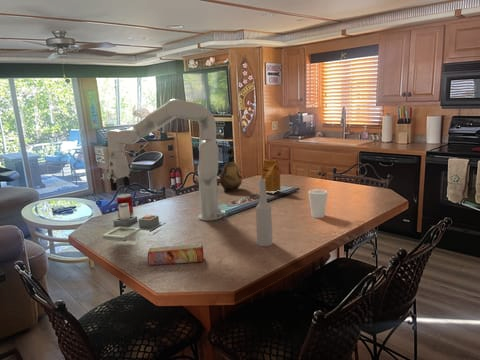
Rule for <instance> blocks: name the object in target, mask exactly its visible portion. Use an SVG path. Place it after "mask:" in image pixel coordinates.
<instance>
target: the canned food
mask: <svg viewBox="0 0 480 360" xmlns="http://www.w3.org/2000/svg"><path fill="white" fill-rule="evenodd" d="M132 198H133V197H132V194H131V193H122V194H119V195H117V196H116V200H117V201H116V202H117V209H118V211H119V206H118V205H119V204H122V203H128V204H129V212H130V213H132V212H134V208H133V207H134V206H133V199H132Z"/></svg>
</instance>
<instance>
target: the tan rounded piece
mask: <svg viewBox="0 0 480 360" xmlns="http://www.w3.org/2000/svg"><path fill="white" fill-rule="evenodd" d="M152 215H153V214H146V215H144V216H143V217H144V218H145V219H152V218H153V216H152Z"/></svg>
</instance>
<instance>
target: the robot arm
mask: <svg viewBox="0 0 480 360" xmlns="http://www.w3.org/2000/svg"><path fill="white" fill-rule="evenodd" d="M176 118H178V119H183V120H188V121H193V122H197V123H198V125H199V127H198V128H199V129H198V130H199V131H198V132H199V139H198V141H199V142H198V151H199V153H198V164H197V174H198V175H197V178H198V189H199V202H200V214H198V219H199V220H200V221H205V222H209V221H210V222H211V221H216V220H217V221H218V220H220V219H221V218H223V216H224V217H226V215H227V213H226V211H225V210H221V209H222V208H220V205H219V195H218V194H219V191H218V189H219V188H218V179H217V176H218V172H219V152H220V151H219V146H218V143H217V124H216V123H217V122H216V119H215V117H214V115H213V113H212V111H210V110H209V108H207V107H206V106H205V105H204V104H202V103H197V102H192V101H186V100H181V99H178V98H172V99H170V100H168V101H167V102H165V104H163V105H161V106H159V107H158V108H157V109H155V110H153V111H152V112H150V113H149V114H147V115H146V116H145V117H144V118H143V119H142V120H140V121H139V122H137V123H136V124H134V125H132V126H131V127H130V128H128V129H109V130H108V131H106V140H107V147H108V157H109V159H108V173H106V175H105V177H106V178H107V179H106V180H107V181H108V182H109V183H110V190H111V191H114V192H116V191H118V183H117V180H118V179H122V178H123V187H130V178H131V171H132V169H131V168H130V166H129V162H128V161H129V160H128V158H127V155H126V150H125V145H134V144H136V143H137V142H139V141H140V140H142V139H143V138H145V137H146V136H148V135H149V134H151V133H152V132H155V131H157V130H160V128H162V127H164V126H165V125H167V124H169V123H170V122H172V121H173V120H175V119H176Z"/></svg>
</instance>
